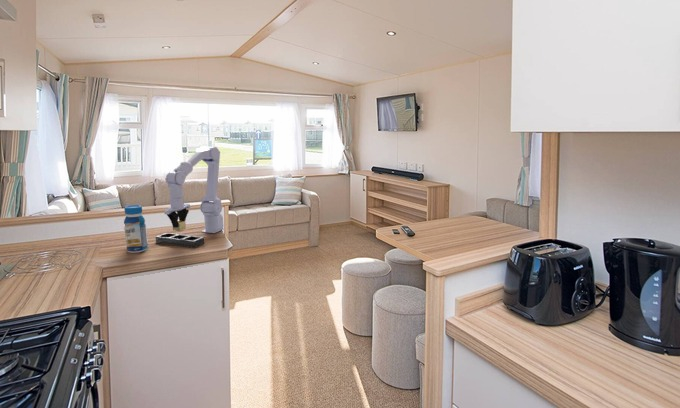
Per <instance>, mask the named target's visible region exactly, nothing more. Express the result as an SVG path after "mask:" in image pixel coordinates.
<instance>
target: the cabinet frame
mask: <svg viewBox="0 0 680 408" xmlns="http://www.w3.org/2000/svg"><path fill="white" fill-rule="evenodd" d="M155 243H156V244H161V245H172V246H177V247H178V246H179V247H185V248H186V247H187V248H193V249H195V248H197V247H200V246H202V245H204V244H205V237H203V236H196V235H186V234H179V233H171V232H165V233H162V234H159V235H157V236H156V235H155Z"/></svg>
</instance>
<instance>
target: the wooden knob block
mask: <svg viewBox="0 0 680 408" xmlns="http://www.w3.org/2000/svg"><path fill="white" fill-rule="evenodd" d="M186 226H187V225H186V220H185V221H182V220H179V219H178V227H177V228H174V227H173V226H172V231H173V232H174V231H176V232H181V231H184V230H186V229H187V227H186Z"/></svg>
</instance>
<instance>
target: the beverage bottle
mask: <svg viewBox="0 0 680 408" xmlns="http://www.w3.org/2000/svg"><path fill="white" fill-rule="evenodd" d="M123 211H124V214H125V218H124V220H123V223H124V228H123V230H124V234H125V245H126V251H127V252H128V253H131V254H137V253H142V252H145V251H147V250H148V244H147V240H148V237H147V238H146V230H147V224H146V225H145V224H144V222H146V220H145V217H144V216H143V215H142V214H143V206H142V205H140V204H131V205H126V206H125V207H124V210H123Z"/></svg>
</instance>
